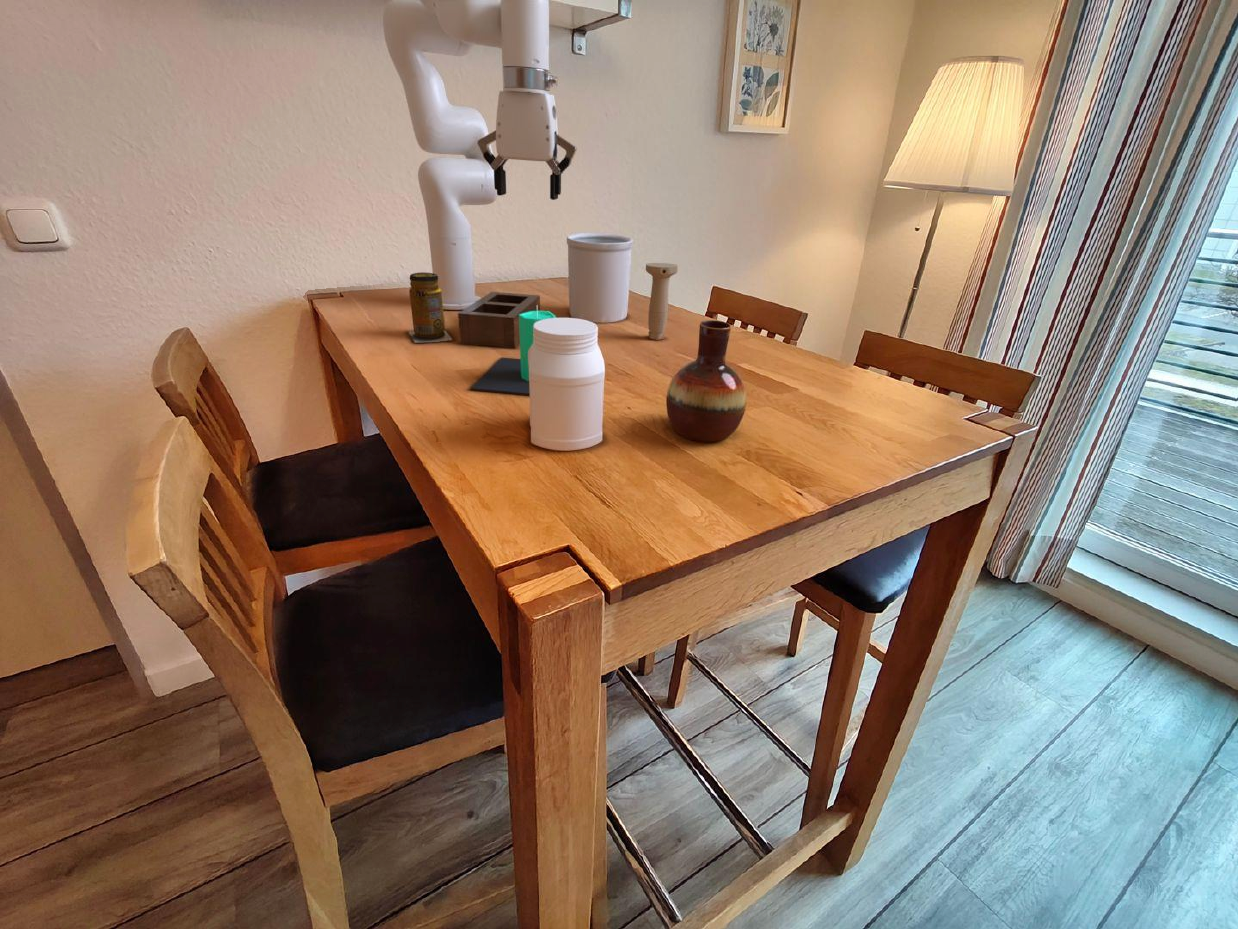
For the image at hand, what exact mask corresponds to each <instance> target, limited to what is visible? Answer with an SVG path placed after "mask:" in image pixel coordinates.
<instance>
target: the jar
mask: <svg viewBox="0 0 1238 929" xmlns="http://www.w3.org/2000/svg"><path fill="white" fill-rule="evenodd" d="M533 332H534V334H533V337H534V338H533V341H534V342H533V344H532V346H531V347H530V349H529V350H528V365H529V390H530V396H529V426H530V443H531V444H532V445H534V446H537V447H539V448H543V449H547V450H552V451H561V452H563V451H565V452H567V451H568V452H569V451H571V452H572V451H580V450H585V449H589V448H592V447H595V446H598V445H599V444H601V442H602V441H603V437H604V436H603V435H604V432H603V419H604V394H605V393H604V392H605V389H604V388H605V377H606V367H605V360H604V357H603V354H602V352H601V348H600V346H599V342H598V341H599V338H598V336H599V327H598V325H597V323H594V322H590V321H587V320H583V319H576V318H573V317H556V318H549V319H544V320H540V321H538V322H536V323H535V324H534V325H533Z"/></svg>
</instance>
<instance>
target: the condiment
mask: <svg viewBox="0 0 1238 929" xmlns="http://www.w3.org/2000/svg"><path fill="white" fill-rule="evenodd" d="M409 281H410V283H409V285H410V289H409V292H408V293H409V301H410V309H411V310H410V311H411V318H412V319H411V320H412V327H413V330H408V331H407V332H408V335H409V336H410V337H411V339H412V341H413V342H414V343H419V344H420V343H421V344H422V343H439V342H447V341H453V338H452V337H451V336H450V334H448V332H447V331H446V326H445V316H444V309H443V304H442V292H441V289H440V288H439V283H438V276H437V275H436V274H434V273H433V272H413V273H410V275H409Z"/></svg>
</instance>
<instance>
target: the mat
mask: <svg viewBox="0 0 1238 929" xmlns="http://www.w3.org/2000/svg"><path fill="white" fill-rule="evenodd" d="M470 391H475V392H484V393H485V392H486V393H497V394H508V395H517V396H529V397H530V390H529V381H526V380H524V379H522V377H521V358H513V357H500V358H499V359H498V360H497V361H496V362H495V363H494V364H493V365H492V366H491V367H490V368H489V369H488V370H487V371H486V372H485V373H484V374H483V375H482V376H481V377H480V378H479V379H478V380H477V381H476V382H475V383H474V384H473V386H471V387H470Z"/></svg>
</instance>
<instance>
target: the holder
mask: <svg viewBox="0 0 1238 929" xmlns="http://www.w3.org/2000/svg"><path fill="white" fill-rule="evenodd" d="M480 298H481V299H480V300H478V301H476V302H475V303H473V304H472V305H470V306H469V307H467V308H466V309H464V310H460V311H459V312H458V313H457V319H458V329H459V330H458V331H459V342H460V345H471V346H480V347H481V346H482V347H494V348H503V349H504V348H507V349H516V348H517V347H518V346H520V331H519V314H522V313H526V312H529V311H537V305H538V311H541V295H539V294H525V293H512V292H501V291H500V292H499V291H490V292H489V293H487V294H485V295H484V296H483V297H480Z"/></svg>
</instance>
